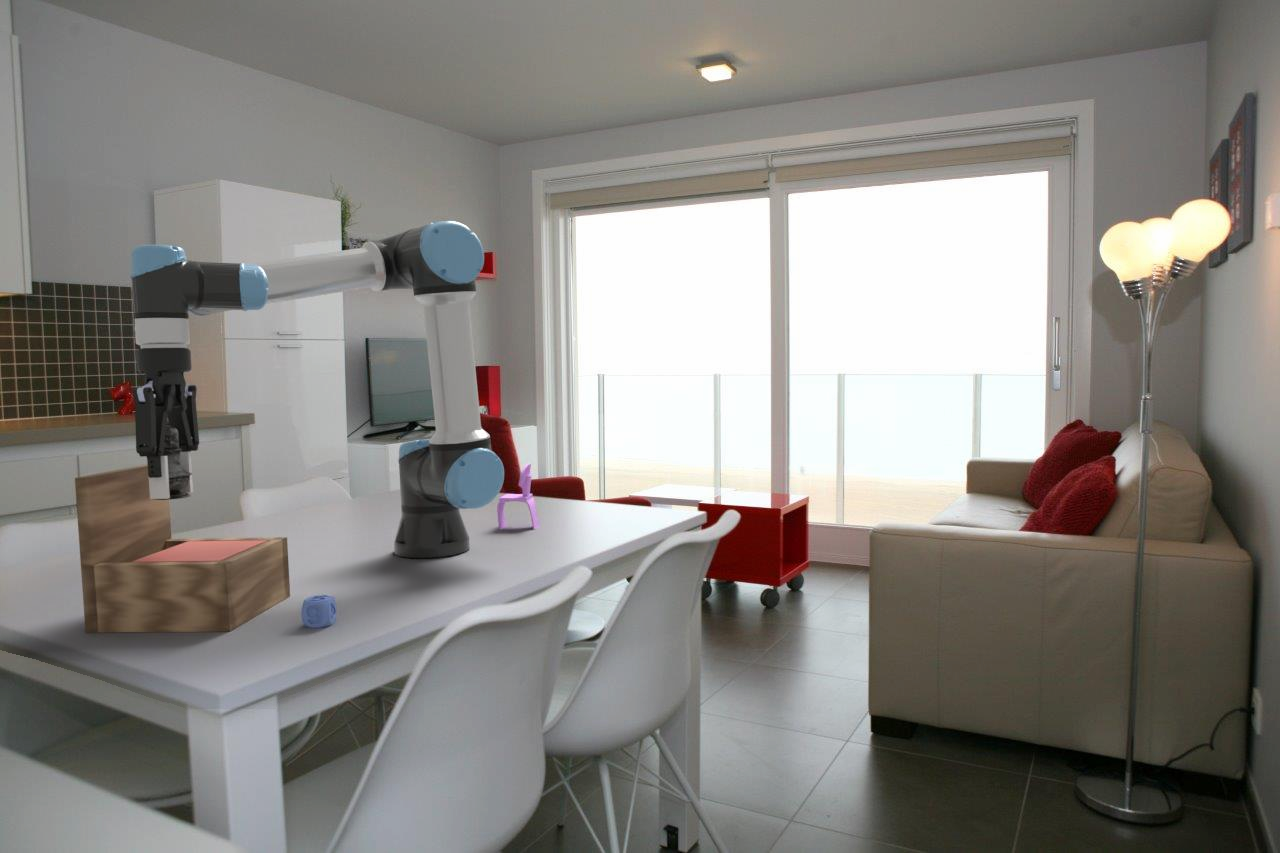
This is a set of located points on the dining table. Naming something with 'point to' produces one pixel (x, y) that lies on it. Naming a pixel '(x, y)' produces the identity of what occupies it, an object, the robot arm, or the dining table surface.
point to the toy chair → (519, 499)
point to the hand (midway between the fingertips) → (172, 495)
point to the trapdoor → (201, 551)
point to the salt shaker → (175, 465)
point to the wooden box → (163, 565)
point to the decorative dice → (319, 611)
